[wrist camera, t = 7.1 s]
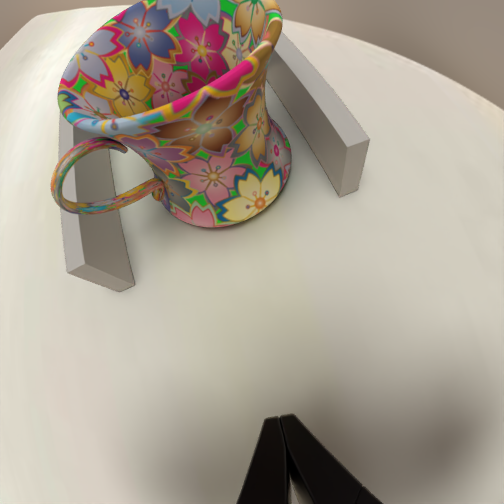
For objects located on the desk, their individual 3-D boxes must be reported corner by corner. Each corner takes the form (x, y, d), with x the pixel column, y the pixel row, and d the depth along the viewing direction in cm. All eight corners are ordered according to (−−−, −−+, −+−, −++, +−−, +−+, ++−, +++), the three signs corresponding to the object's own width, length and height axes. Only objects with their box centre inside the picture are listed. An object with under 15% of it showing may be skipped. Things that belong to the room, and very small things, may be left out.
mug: (221, 96, 22) (175, -25, 12) (329, 155, 19) (332, 4, 9) (105, 217, 20) (-6, 134, 10) (196, 309, 17) (65, 256, 7)
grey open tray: (357, 189, 18) (369, 138, 13) (119, 292, 19) (67, 272, 14) (268, 57, 22) (258, 8, 18) (94, 137, 23) (60, 101, 18)
